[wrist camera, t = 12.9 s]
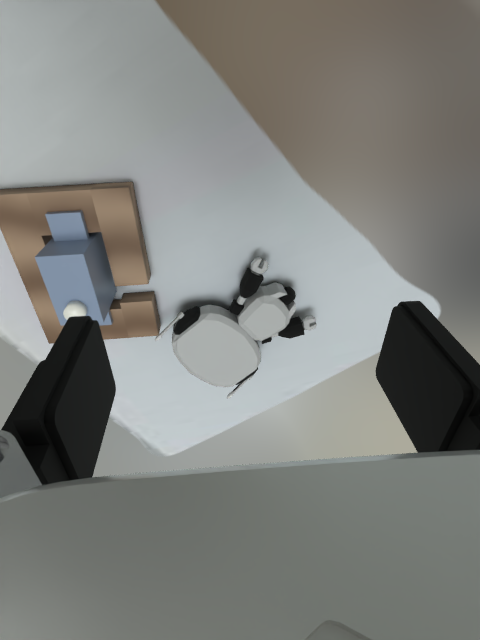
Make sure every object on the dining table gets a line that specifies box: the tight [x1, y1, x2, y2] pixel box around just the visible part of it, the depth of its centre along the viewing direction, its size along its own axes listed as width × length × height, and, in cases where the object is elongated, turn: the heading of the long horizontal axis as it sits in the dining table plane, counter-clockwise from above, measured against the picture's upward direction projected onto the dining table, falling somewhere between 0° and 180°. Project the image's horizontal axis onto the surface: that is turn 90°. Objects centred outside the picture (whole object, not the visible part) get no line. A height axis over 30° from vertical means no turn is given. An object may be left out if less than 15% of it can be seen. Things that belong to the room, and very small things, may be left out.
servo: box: [35, 210, 117, 326], centre depth 34 cm, size 12×4×7 cm, turn 2°
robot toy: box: [155, 257, 316, 399], centre depth 41 cm, size 12×4×15 cm
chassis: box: [0, 182, 161, 344], centre depth 37 cm, size 16×12×2 cm
